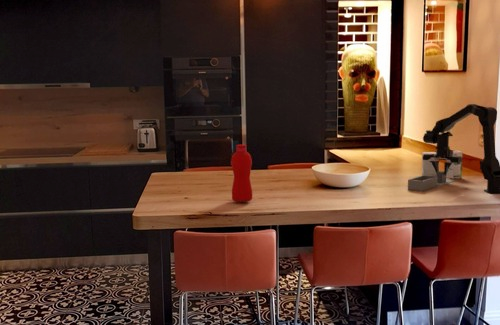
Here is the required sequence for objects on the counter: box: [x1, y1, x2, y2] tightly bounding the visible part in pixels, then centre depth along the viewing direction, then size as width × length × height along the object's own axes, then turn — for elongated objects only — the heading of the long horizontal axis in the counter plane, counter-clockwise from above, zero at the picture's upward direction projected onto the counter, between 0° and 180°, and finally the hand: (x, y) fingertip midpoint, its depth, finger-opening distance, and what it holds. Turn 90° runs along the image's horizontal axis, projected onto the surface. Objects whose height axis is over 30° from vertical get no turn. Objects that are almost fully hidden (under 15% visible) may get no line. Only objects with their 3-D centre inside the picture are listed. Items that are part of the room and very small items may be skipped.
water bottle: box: [230, 144, 253, 203], centre depth 232 cm, size 9×11×25 cm
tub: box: [407, 174, 438, 193], centre depth 252 cm, size 16×7×5 cm, turn 136°
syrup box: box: [446, 150, 463, 180], centre depth 279 cm, size 6×6×14 cm
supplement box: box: [421, 151, 437, 177], centre depth 289 cm, size 7×7×13 cm
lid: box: [435, 170, 455, 186], centre depth 267 cm, size 16×7×6 cm, turn 136°
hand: (441, 174), depth 267 cm, fingers open, 4 cm apart
